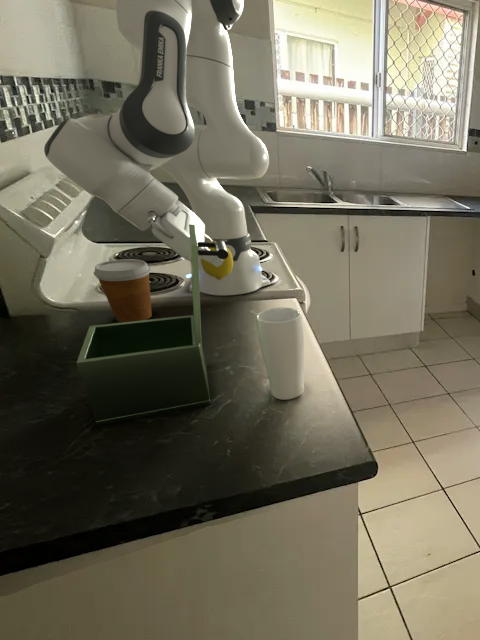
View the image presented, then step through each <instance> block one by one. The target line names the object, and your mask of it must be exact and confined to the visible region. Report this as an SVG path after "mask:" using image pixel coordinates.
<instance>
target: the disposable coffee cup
mask: <svg viewBox="0 0 480 640" xmlns="http://www.w3.org/2000/svg"><path fill="white" fill-rule="evenodd" d="M150 271H151V267H150V266H149V265H148V264H147V262H146V261H144V260H142V259H134V258H133V259H132V258H131V259H130V258H128V259H127V258H125V259H114V260H113V259H112V260H107V261H103V262H100V263H98V264H96V265H95V266H94V271H93V275H94V276H95V278H96V279H97V280H98V282H99V284H100V286H101V288H102V290H103V293H104V295H105V297H106V299H107V301H108V304H109V306H110V308H111V310H112V313H113V315H114V317H115V319H116V321H117V322H118V323H123V322H132V321H142V320H149V319H150V318H152V315H153V314H152V301H151V300H152V299H151V297H152V296H151V285H150V284H151V283H150V273H151V272H150Z"/></svg>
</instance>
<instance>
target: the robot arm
mask: <svg viewBox="0 0 480 640" xmlns="http://www.w3.org/2000/svg"><path fill="white" fill-rule="evenodd" d="M244 1H245V0H116V3H115V5H116V6H115V9H116V10H115V11H116V21H117V27H118V30H119V32H120V34H121V35H122V36H123V38H124V39H125V40H126V41H127V42H128V43H129V44H130V45H131V46H133V47H134V48H135V49H137V50H138V51H140V60H139V73H138V74H139V75H138V84H137V86H136V87H135V88H134V89H133V91H131V92H130V94H129V95H127V97H126V99H125V100H124V101H123V103H122V105H121V106H120V108H119V109H118V110H117V111H116V112H115V113H114V114H113V115H112V114H110V115H107V116H102V117H96V118H83V119H81V118H79V119H78V118H74V117H73V118H72V117H68V118H65V119H64V120H62V121H61V122H60V123H59V124H58V126H57V127H56V128H55V130H54V131H53V132H52V134H51V136H50V137H49V138H48V139H47V141H46V143H45V144H44V148H43V153H44V154H45V157H46V159H47V160H48V161H49V162H50V163H51V164H52V165H53V166H54V167H55V168H56V169H57V170H58V171H59V172H60V173H62V174H63V175H64V176H65V177H66V178H68V179H69V180H70V181H72V182H73V183H75V185H77V186H78V187H80V188H81V189H83V190H84V191H85V192H87V193H88V194H89V195H91V196H94V197H96V198H99V199H100V200H102V201H104V202H105V203H106V204H107V205H108V206H109V207H110V208H111V209H112V211H114V213H116V214H118V216H120V217H122V218H123V219H124V220H126V221H127V222H129V223H130V224H131V225H133V226H135V227H136V228H137V229H139V230H140V231H141V232H145V231H147V230H148V229H151V232H152V234H153V235H154V236H155V237H156V238H157V239H158V240H159V241H160V242H162V243H163V244H164V245H165V246H167V247H168V248H169V249H171V250H172V251H173V252H174V253H176V254H177V255H179V256H180V257H181V258H183V259H184V260H186V261H189V262H191V259H190V236H189V224H191V225H195V230H196V237H197V242H210V243H212V242H213V241H217V240H221V241H223V242H224V243H225V245H226V247H227V248H228V249H229V250H230V252H231V254H232V257H233V269H232V271H231V272H230V274H228V275H227V276H225V277H223V278H222V279H221V280H218V279H216V278H215V277H212V276H210V275H209V274H207V273H206V272H205V271H204V269H203V267H202V264H201V259H204V260H206V261H208V262H210V263H211V264H213V265H214V266H216V267H219V266H220V265H222V264H223V259H220V258H218V257H217V256H207V255H198V264H199V290H200V293H203V294H207V295H211V296H237V295H243V294H249V293H252V292H255V291H257V290H259V289H261V288H263V287H265V286H269V285H271V280H270V279H269V278H268V277H266V276H265V275H264V274H263V273H262V271H263V268H262V267H261V261H260V256H259V255H258V254H257V253H256V252H254V251H253V250H252V249H251V248H252V239H251V236H250V233H249V232H248V227H247V219H246V212H245V211H246V210H245V207H244V204H243V203H242V201H241V200H240V199H239V198H238V197H237V196H234V195H233V194H231V193H229V192H227V190H225V189H224V188H223V187H222V186H221V185H220V183H219V180H218V179H223V180H236V181H244V180H245V181H247V180H253V179H254V180H255V179H261V178H263V176H264V175H265V174H266V173H267V171H268V169H269V165H270V155H269V152H268V149H267V147H266V145H265V143H264V142H263V141H262V140H261V138H259V137H258V136H257V135H256V134H254V133H253V132H252V131H251V130H250V129H249V127H248V126H247V125H246V123H245V122H244V120H243V118H242V116H241V114H240V112H239V109H238V104H237V101H236V100H237V99H236V93H235V92H236V91H235V79H234V66H233V65H234V63H233V54H232V53H233V52H232V47H231V42H230V37H229V34H228V31H229V30H231V29H232V27H233V25H234V24H235V23H236V22H238V20H239V19H240V18H241V16H242V14H243V11H244ZM189 107H191V108H192V109H194V110H196V111H197V112H199V113H200V114H202V115H203V117H204V119H205V124H206V128H203V127H195V125H194V121H193V118H192V115H191V112H190V109H189ZM158 168H159V169H160V170H162V171H163V172H164V173H166V174H167V175H168V176H170V177H171V178H172V179H173V180H174V181H175V182H176V184H178V186H179V187H180V189H181V190H182V191H183V192H184V194H185V196H186V199H187V200H188V202H189V205H190V208H191V210H190V208H188V207H187V206H186V205H185V204H184V203H183V202H181V200H179V196H178V195H177V194H176V193H175V192H174V191H173V190H172V189H170V188H169V187H167V186H166V185H165V184H164V183H162V182H161V181H159V179H157V178H156V177H154V176H153V175H152V174H151V172H150V171H153V170H156V169H158ZM198 250H209V249H208V247H198ZM185 277H186V279H189V278H191V273H189V274H186V275H185ZM188 290H189V291H190V292H192V282H190V285H189V286H188Z"/></svg>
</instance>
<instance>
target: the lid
mask: <svg viewBox="0 0 480 640" xmlns="http://www.w3.org/2000/svg"><path fill="white" fill-rule="evenodd" d="M189 236H190V259H191V261H190V274H191V277H190V278H191V279H190V280H191V282H190V283H192V291H191V300H192V301H191V302H192V315H193V320H194V332H195V343H202V322H201V321H202V320H201V319H202V318H201V297H200V296H201V295H200V294H201V292H200V290H199V264H198V255H207V256H217V257H218V258H220V259H226V258H227V257H228V251H227V248H226V245H225V243H224V242H223V241H221V240H217V241H216V242H215V243H210V242H197V237H196V230H195V225H191V224H189ZM198 247H210V248H215V250H216V251H214V250H198Z"/></svg>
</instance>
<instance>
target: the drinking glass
mask: <svg viewBox="0 0 480 640" xmlns="http://www.w3.org/2000/svg"><path fill="white" fill-rule="evenodd" d="M255 317H256V328H257V334H258V335H257V336H258V341H259V346H260V349H261V354H262V357H263V362H264V366H265V370H266V374H267V378H268V383H269V389H270V394H271V396H272V397H273V398H275V399H277V400H280V401H281V400H283V401H289V400H293V399H295V398H298V397H300V396H301V395H303V393H304V391H305V383H304V343H305V342H304V341H305V340H304V326H303V325H304V324H303V320H302V319H303V317H302V312H301V311H300V310H298V309H295V308H291V307H273V308H267V309H264V310H261V311H260V312H258V313H257V314H256V316H255Z"/></svg>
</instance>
